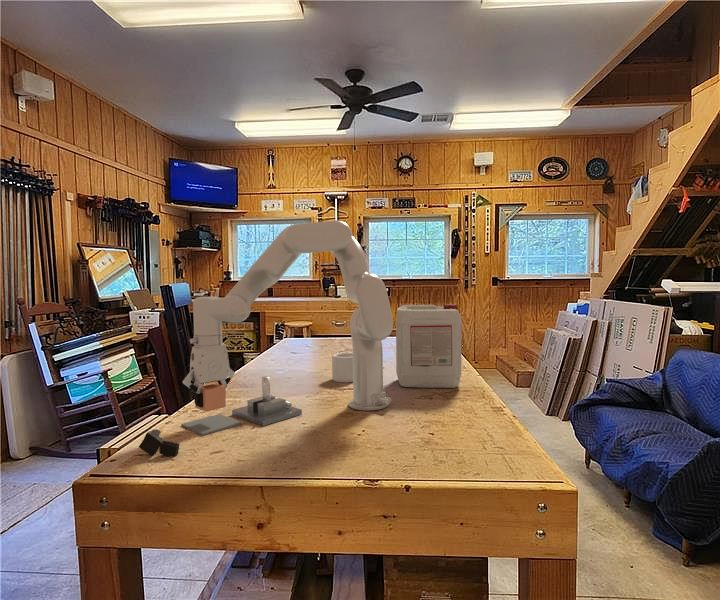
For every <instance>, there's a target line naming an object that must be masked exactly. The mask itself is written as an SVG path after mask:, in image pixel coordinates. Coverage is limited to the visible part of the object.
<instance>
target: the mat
mask: <svg viewBox="0 0 720 600" xmlns="http://www.w3.org/2000/svg"><path fill="white" fill-rule="evenodd" d="M242 424H243V422H242V421H239V420H237V419H235V418H232V417H229V416H227V415H224V414H221V413H218V414H214V415H209V416H207V417H202V418H198V419H195V420H191V421H186V422H183V423H181V427H184V428H185V429H188V430H190V431H192V432H194V433H196V434H197V435H200V436H202V437H203V436H206V435H210V434H213V433H217V432H220V431H224V430H228V429H230V428H231V429H232V428H235V427H237V426H241V425H242Z"/></svg>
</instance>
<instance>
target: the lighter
mask: <svg viewBox="0 0 720 600" xmlns="http://www.w3.org/2000/svg"><path fill="white" fill-rule="evenodd" d="M160 434H161V431H160V430H159V429H152V430H149V431H148V432H146V433H145V436H144V437H143V440H142V441H141V443H140V444H139V446H138V448H139V449H141V450H142V451H144V452H145V453H146V454H148V455H149V456H151V457H153V456H154V454H155V455H156V454H157V452H158V453H159V454H161V455H162V456H165V457H169V456H174V457H176V456H177V455H179V450H180V449H179V448H180V443H177V442H173V441H168V440H164V439H163V437H161V436H160ZM158 450H159V451H158Z"/></svg>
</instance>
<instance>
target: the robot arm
mask: <svg viewBox="0 0 720 600" xmlns="http://www.w3.org/2000/svg"><path fill="white" fill-rule="evenodd" d="M323 252H330V253H331V254H332V255H333V256H334V257H335V258H336V261H337V263H338V266H339V269H340V272H341V276H342V281H343V286H344V289H345V295H346V298H347V299H348V300H350V302H352V303H355V304H358V308H357V309H355V310H354V311H353V312H352V314H351V317H350V319H349V320H350V322H349V328H350V336H351V343H352V344H351V345H352V353H353V382H352V385H353V386H352V391H353V395H352V396H353V398H351V399H350V400H349V401H348V407H350V408H351V409H354V410H357V411H378V410H381V409H385V408H387V407H388V406H389V405H390V403H391V402H392V398H391V397H389V396H387V395H386V394H387V393H386V391H384V367H383V365H384V363H383V357H384V356H383V354H384V353H383V342H382V341H383V340H385V339H387V338H388V337H389V336H390V335H391V333H392V331H393V329H394V328H393V327H394V317H393V313H392V309H391V303H390V299H389V296H388V291H387V288H386V285H385V282H384V281H383V280H382V279H381V277H379V276H378V275H376V274H374V273H371V272H370V269H369V265H368V262H367V258H366V254H365V252H364V249H363V247H362V246H361V244H360V243H359V242H358V240H357V239H356V238H355V237H354V236H353V232H352V229H351V227H350V226H349V225H348V223H346V222H345V221H342V220H339V219H338V220H327V221H326V220H325V221H316V222H303V223H301V222H300V223H294V224H292V225H289V226H286V227H285V228H284V229H282V231H281V232H280V233H279V234H278V235H277V237H275V239H274V240H273V241H272V242H271V243H270V244H269V246H267V248H266V249H265V250H264V251H263V253H262V254H261V255H260V256H259V257H258V258H257V259H256V260H255V262H254V263H253V264H252V265H251V266H250V268H249V269H248V270H247V271H246V273H244V275H242V276H241V278H240V279H239V280H238V282H236V284H235V285H234V286H233V287H232V288H231V289H230V291H228V293H227V294H226V295H225V296H224V297H218V296H199V297H196V298H194V300H193V303H192V304H193V305H192V306H193V307H192V308H193V309H192V310H193V312H192V314H193V338H189V342H190V344H193V346H192V347H191V348H192V349H191V353H190V359H189V360H190V362H189V372H188V374H187V375H186V376H185V377H184V379H183V380H182V384H183V385H185V386H186V387H187V388H188V389H189V390H191V392H192V393H193V395H194V396H193V398H194V404H196V406H198V407H200V408H201V407H203V393H201V390H202V387H203V385H205V384H210V383H215V382H217V384H220V385H223V386H225V389H226V388H227V387H228V384H229V383H230V382H231V379H232V378H233V377H234V376H235V374H236V373H235V371H234V370H232V368H231V367H230V360H229V353H228V349H227V346H226V345H227V344H225V343H223V322H226V323H241V322H244V321H245V320H247V318H249V316H250V314H251V310H252V309H251V306H252V304H253V303H254V302H255V301H256V300H257V298H259V296H260V295H261V294H262V293H263V292H264V291H266V290H267V289H269V288H271V286H273V285H275V284H276V283H277V282H278V281H280V280H281V278H282V277H283V276H284V275H285V274H286V273H287V271H288V270H289V269H290V267H291V266H292V265H293V264H294V263H295V261H297V259H299V257H300V256H301V255H302V254H309V253H310V254H312V253H314V254H315V253H323ZM191 381H192V382H194V383H192V382H191ZM226 393H227V392H225V398H226V396H227V395H226Z"/></svg>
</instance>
